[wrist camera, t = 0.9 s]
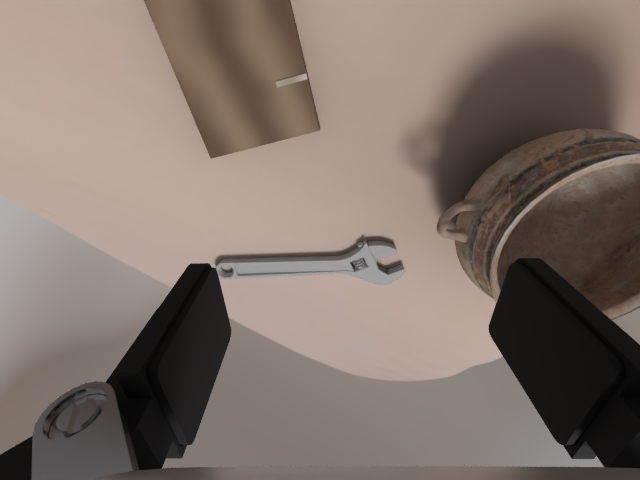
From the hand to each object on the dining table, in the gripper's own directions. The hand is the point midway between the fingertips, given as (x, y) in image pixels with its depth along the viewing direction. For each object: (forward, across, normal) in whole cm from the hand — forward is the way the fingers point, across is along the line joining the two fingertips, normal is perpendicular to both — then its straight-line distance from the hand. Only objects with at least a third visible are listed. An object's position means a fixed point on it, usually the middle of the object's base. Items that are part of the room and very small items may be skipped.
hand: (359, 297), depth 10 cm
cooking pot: (+27, -22, +8) cm, 35 cm away
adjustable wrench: (+27, +3, +16) cm, 31 cm away
